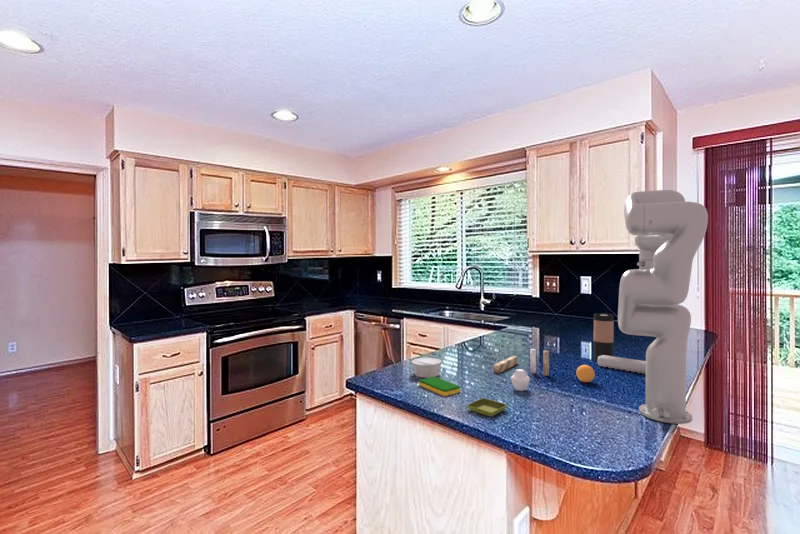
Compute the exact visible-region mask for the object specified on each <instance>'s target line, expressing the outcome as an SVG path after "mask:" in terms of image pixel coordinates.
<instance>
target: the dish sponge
mask: <svg viewBox="0 0 800 534" xmlns="http://www.w3.org/2000/svg"><path fill="white" fill-rule="evenodd" d="M418 381H419V382H418V384H419V385H418V386H419V387H422V388H424V389H427V390H429V391H432V392H433V393H436V394H438V395H441V396H443V397H447V396H450V395H454V394H458V393H460V392H461V386H460V385H458V384H454V383H453V382H449V381H447V380H444V379H442V378H439V377H438V376H436V377H431V378H423V379H419V380H418Z"/></svg>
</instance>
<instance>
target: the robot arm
mask: <svg viewBox="0 0 800 534" xmlns="http://www.w3.org/2000/svg"><path fill="white" fill-rule="evenodd" d="M623 214H624V215H623V216H624V220H625V227H626V230H627V233H629V234H630V235H632V236H634V244H635V246H636V247H637V248H638V249H639V252H638V253H639V254H638V258H639V259H638V262H637V263H636V266H638V267H639V268H636V269H635V268H634V269H628V270H626V271H625V272H624V273H622V274H621V277H620V282H619V286H618V287H619V288H618V307H617V324H618V329H619V330H620V332H621V333H622V334H623V333H624V334H626V335H631V336H643V337H655V339H654V340H653V341H652V342H651V343H650V344H649V345H648V347H647V349H646V351H645V361H646V374H645V395H644V396H645V403H643V404H641V405H639V407H638V412H639V413H640V414H641V415H642V416H643V417H646V418H648V419H650V420H654V421H657V422H660V423H665V424H673V425H674V424H675V425H684V424H689V423H691V422H692V421H693V415H692V413H690V412H689V411H687V410H686V404H687V403H686V402H687V399H686V396H687V349H688V339H689V335H690V334H689V333H690V329H691V324H692V315H691V312H690V311H689V309H688V308H686V306H684V305H682V303H684V301H686V300H687V297H688V294H689V290H690V289H689V288H690V282H691V277H692V276H691V275H692V268H693V262H694V258H695V255H696V254H697V252H698V249H699V248H700V246H701V244H702V242H703V240H704V239H705V235H706V232H707V228H708V220H709V214H708V210H707V208H706V207H705V206H704V205H703V204H701V203H699V202H696V201H695V202H694V201H686V199H685V197H684V196H683V194H682V193H680V192H679V191H676V190H673V189H660V190H641V191H633V192H632V193H630V194H629V195H628V196H627V198H626V199H625V202H624V205H623Z"/></svg>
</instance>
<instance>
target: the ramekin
mask: <svg viewBox="0 0 800 534" xmlns="http://www.w3.org/2000/svg"><path fill="white" fill-rule="evenodd" d="M411 365H412V369H413V374H414V375H415V376H416V377H418V378H423V379H426V378H431V377H438V376H439V375H440V372H441V366H442V360H441V359H439V358H434V357H420V358H419V357H418V358H415V359H412V361H411Z"/></svg>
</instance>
